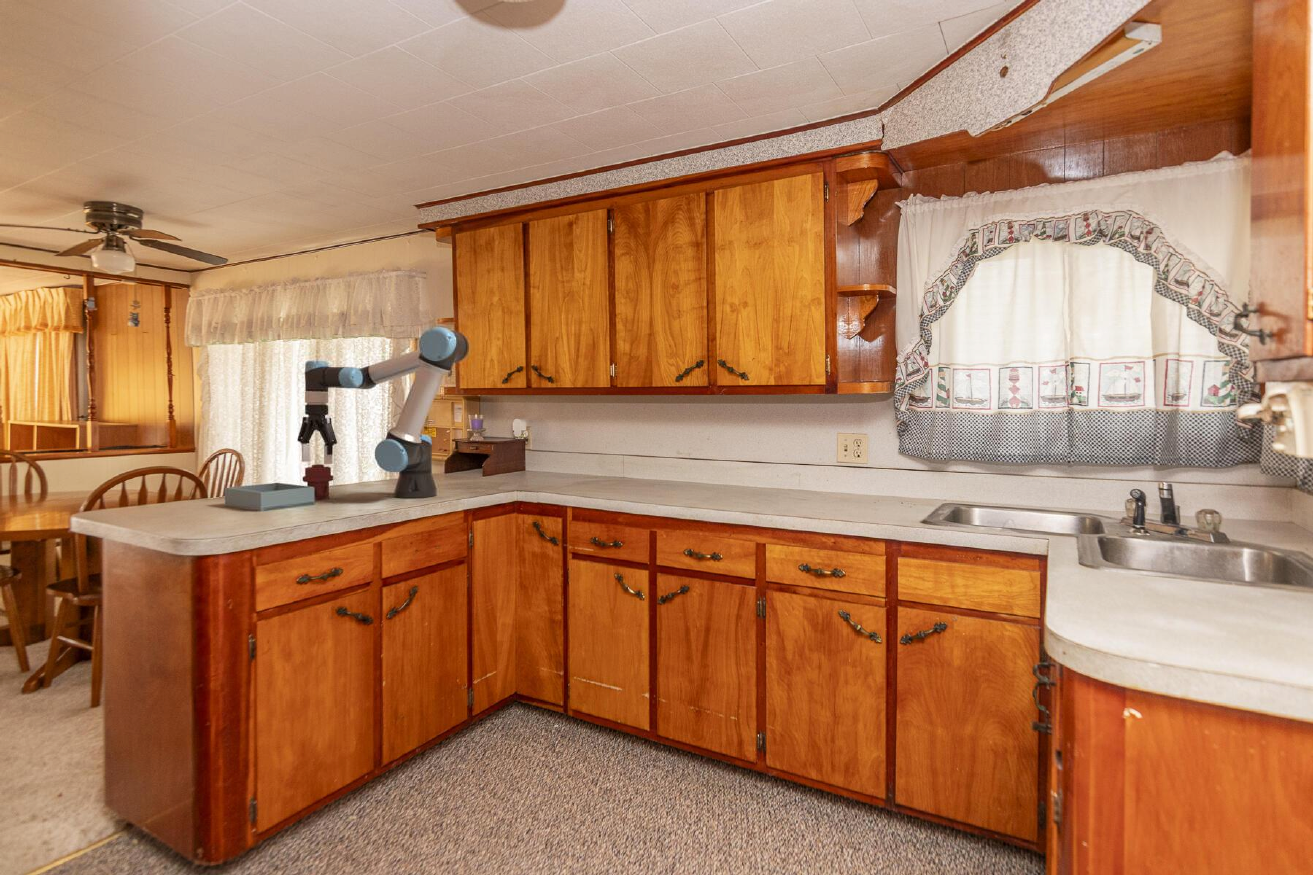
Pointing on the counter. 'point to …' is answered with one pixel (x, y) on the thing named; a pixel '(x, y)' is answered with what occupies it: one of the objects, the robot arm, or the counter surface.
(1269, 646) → the counter surface
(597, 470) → the counter surface
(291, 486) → the tote
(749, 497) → the counter surface
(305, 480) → the mechanical component
